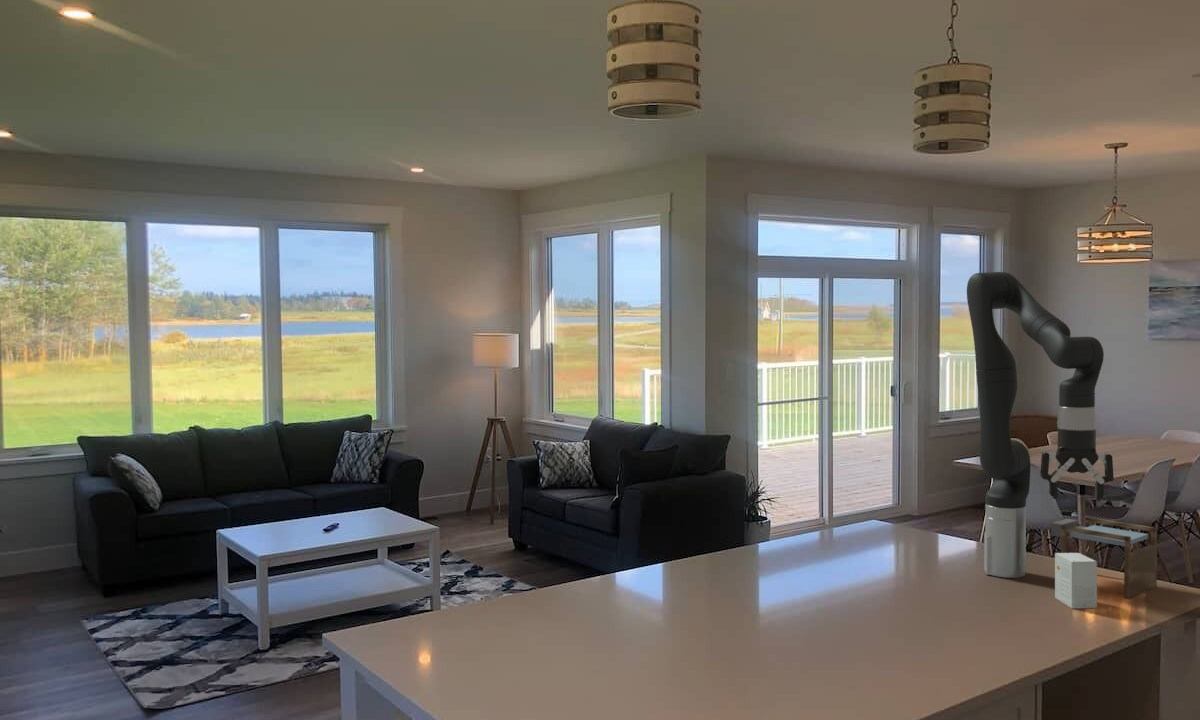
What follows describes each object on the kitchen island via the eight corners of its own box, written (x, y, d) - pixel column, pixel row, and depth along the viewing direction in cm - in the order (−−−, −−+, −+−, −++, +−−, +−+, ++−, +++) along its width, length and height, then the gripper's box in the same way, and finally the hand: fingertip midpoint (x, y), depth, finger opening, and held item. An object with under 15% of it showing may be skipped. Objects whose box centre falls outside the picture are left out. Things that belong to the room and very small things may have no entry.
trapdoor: (1046, 536, 224) (1046, 524, 223) (1070, 529, 231) (1071, 517, 231) (1125, 550, 209) (1125, 537, 209) (1148, 542, 216) (1148, 529, 216)
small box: (1097, 609, 201) (1097, 561, 200) (1071, 609, 201) (1071, 561, 201) (1079, 598, 209) (1079, 552, 208) (1054, 598, 209) (1054, 552, 209)
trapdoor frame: (1060, 584, 220) (1061, 526, 219) (1090, 573, 229) (1090, 517, 228) (1128, 598, 208) (1128, 537, 207) (1156, 586, 217) (1157, 527, 216)
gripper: (1044, 428, 202) (1043, 501, 203) (1116, 429, 198) (1116, 504, 198) (1038, 424, 209) (1038, 495, 210) (1108, 425, 205) (1108, 497, 206)
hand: (1076, 499), depth 204 cm, fingers open, 8 cm apart
